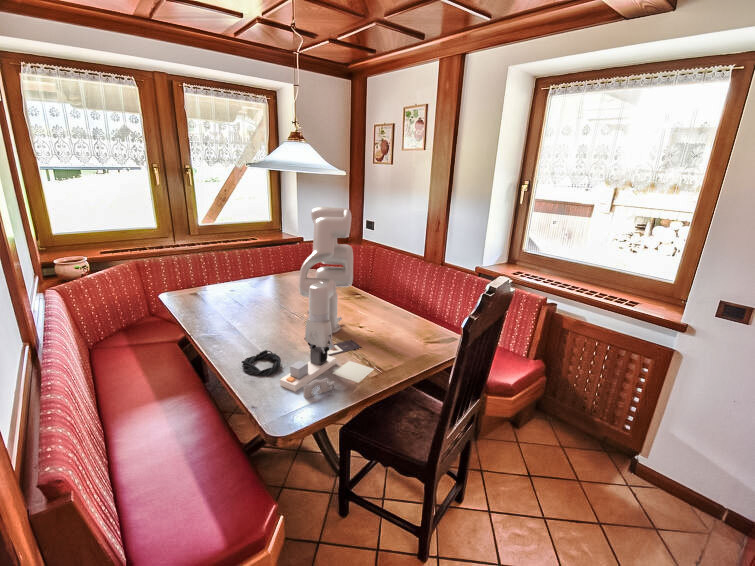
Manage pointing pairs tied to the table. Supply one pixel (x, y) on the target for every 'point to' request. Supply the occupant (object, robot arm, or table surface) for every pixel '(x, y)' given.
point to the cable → (271, 356)
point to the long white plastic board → (312, 373)
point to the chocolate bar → (343, 347)
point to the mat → (353, 371)
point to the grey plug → (299, 370)
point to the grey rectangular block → (316, 356)
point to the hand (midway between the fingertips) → (319, 358)
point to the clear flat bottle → (323, 387)
